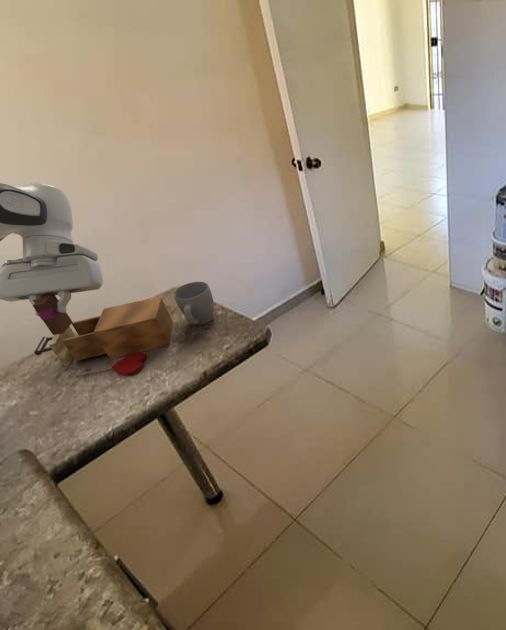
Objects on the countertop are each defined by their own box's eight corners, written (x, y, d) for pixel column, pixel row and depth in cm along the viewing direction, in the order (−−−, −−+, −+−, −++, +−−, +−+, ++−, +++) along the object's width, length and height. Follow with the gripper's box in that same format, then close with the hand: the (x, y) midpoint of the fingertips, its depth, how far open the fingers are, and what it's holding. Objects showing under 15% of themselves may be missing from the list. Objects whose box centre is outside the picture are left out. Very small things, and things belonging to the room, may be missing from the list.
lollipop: (70, 388, 100) (140, 373, 103) (68, 385, 99) (139, 370, 102) (82, 366, 106) (148, 352, 109) (80, 363, 106) (147, 349, 109)
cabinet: (110, 359, 108) (93, 332, 103) (118, 335, 117) (103, 308, 112) (169, 345, 112) (155, 318, 107) (173, 322, 120) (160, 296, 115)
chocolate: (52, 335, 97) (31, 305, 92) (62, 323, 101) (43, 294, 96) (63, 333, 97) (43, 304, 92) (73, 321, 101) (54, 292, 96)
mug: (191, 312, 124) (178, 283, 118) (223, 308, 125) (211, 279, 119) (178, 338, 114) (164, 307, 108) (213, 333, 115) (200, 302, 109)
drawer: (41, 372, 104) (25, 350, 100) (54, 348, 112) (39, 327, 108) (121, 352, 109) (108, 331, 105) (127, 331, 116) (116, 310, 113)
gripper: (-14, 257, 94) (-14, 319, 91) (87, 244, 96) (90, 304, 94) (10, 265, 100) (12, 324, 98) (105, 253, 102) (108, 309, 100)
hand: (51, 314), depth 96 cm, fingers closed on chocolate, 2 cm apart
